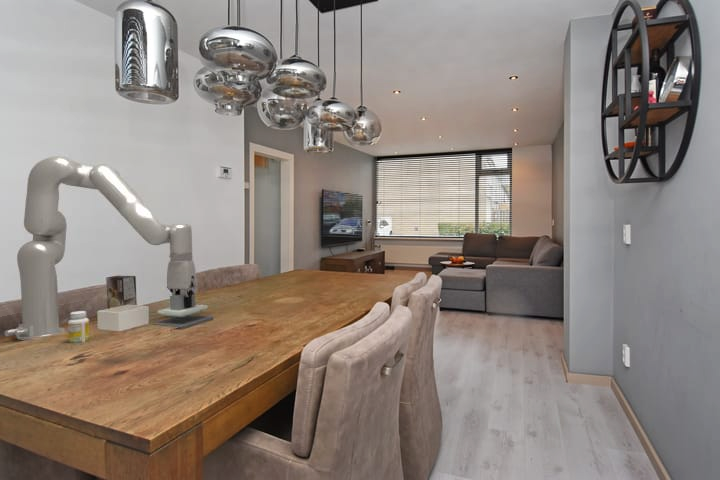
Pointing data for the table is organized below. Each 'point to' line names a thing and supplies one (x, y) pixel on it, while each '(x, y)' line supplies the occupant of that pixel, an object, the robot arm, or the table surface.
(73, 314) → the supplement bottle
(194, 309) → the sage lid
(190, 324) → the charcoal mat
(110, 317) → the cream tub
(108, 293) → the coffee box
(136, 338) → the table surface
